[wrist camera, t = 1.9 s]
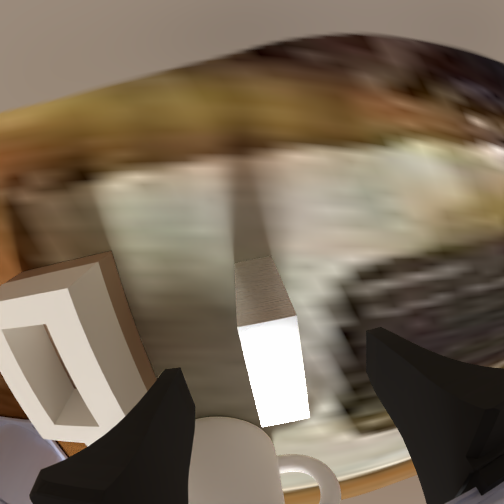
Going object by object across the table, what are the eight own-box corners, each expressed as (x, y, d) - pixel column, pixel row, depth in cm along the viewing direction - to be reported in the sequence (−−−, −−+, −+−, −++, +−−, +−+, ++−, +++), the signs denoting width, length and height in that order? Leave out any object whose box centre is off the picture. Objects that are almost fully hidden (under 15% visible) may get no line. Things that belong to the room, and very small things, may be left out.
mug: (323, 397, 20) (369, 519, 10) (320, 462, 23) (349, 561, 13) (153, 414, 20) (126, 537, 10) (181, 476, 22) (172, 576, 12)
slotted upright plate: (123, 466, 22) (110, 514, 16) (21, 272, 16) (-30, 307, 11) (198, 465, 22) (195, 519, 16) (111, 250, 16) (67, 288, 11)
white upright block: (251, 341, 19) (261, 426, 12) (234, 262, 17) (237, 327, 10) (284, 335, 19) (309, 417, 12) (271, 255, 17) (296, 315, 10)
